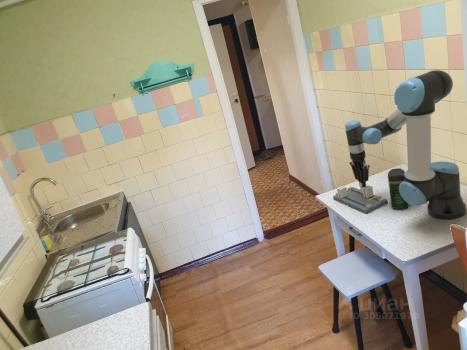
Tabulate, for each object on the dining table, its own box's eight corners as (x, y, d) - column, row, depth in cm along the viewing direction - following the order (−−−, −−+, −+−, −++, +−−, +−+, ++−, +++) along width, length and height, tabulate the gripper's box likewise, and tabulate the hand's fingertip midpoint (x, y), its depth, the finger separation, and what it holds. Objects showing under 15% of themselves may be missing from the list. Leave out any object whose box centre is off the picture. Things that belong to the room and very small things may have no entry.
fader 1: (347, 195, 203) (346, 187, 201) (341, 198, 202) (340, 189, 200) (344, 193, 206) (342, 185, 204) (338, 196, 204) (336, 188, 203)
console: (388, 203, 189) (387, 197, 187) (366, 214, 185) (365, 208, 184) (353, 190, 212) (352, 185, 211) (333, 199, 208) (332, 194, 207)
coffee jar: (409, 209, 178) (405, 174, 172) (391, 210, 181) (386, 175, 175) (408, 200, 186) (404, 166, 180) (391, 201, 189) (387, 167, 183)
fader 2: (373, 195, 195) (372, 186, 194) (367, 198, 194) (366, 189, 192) (369, 193, 198) (368, 185, 196) (363, 196, 197) (362, 188, 195)
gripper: (371, 150, 186) (378, 192, 194) (354, 146, 198) (361, 186, 206) (359, 155, 184) (366, 198, 192) (343, 151, 196) (350, 191, 204)
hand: (363, 192), depth 199 cm, fingers closed
